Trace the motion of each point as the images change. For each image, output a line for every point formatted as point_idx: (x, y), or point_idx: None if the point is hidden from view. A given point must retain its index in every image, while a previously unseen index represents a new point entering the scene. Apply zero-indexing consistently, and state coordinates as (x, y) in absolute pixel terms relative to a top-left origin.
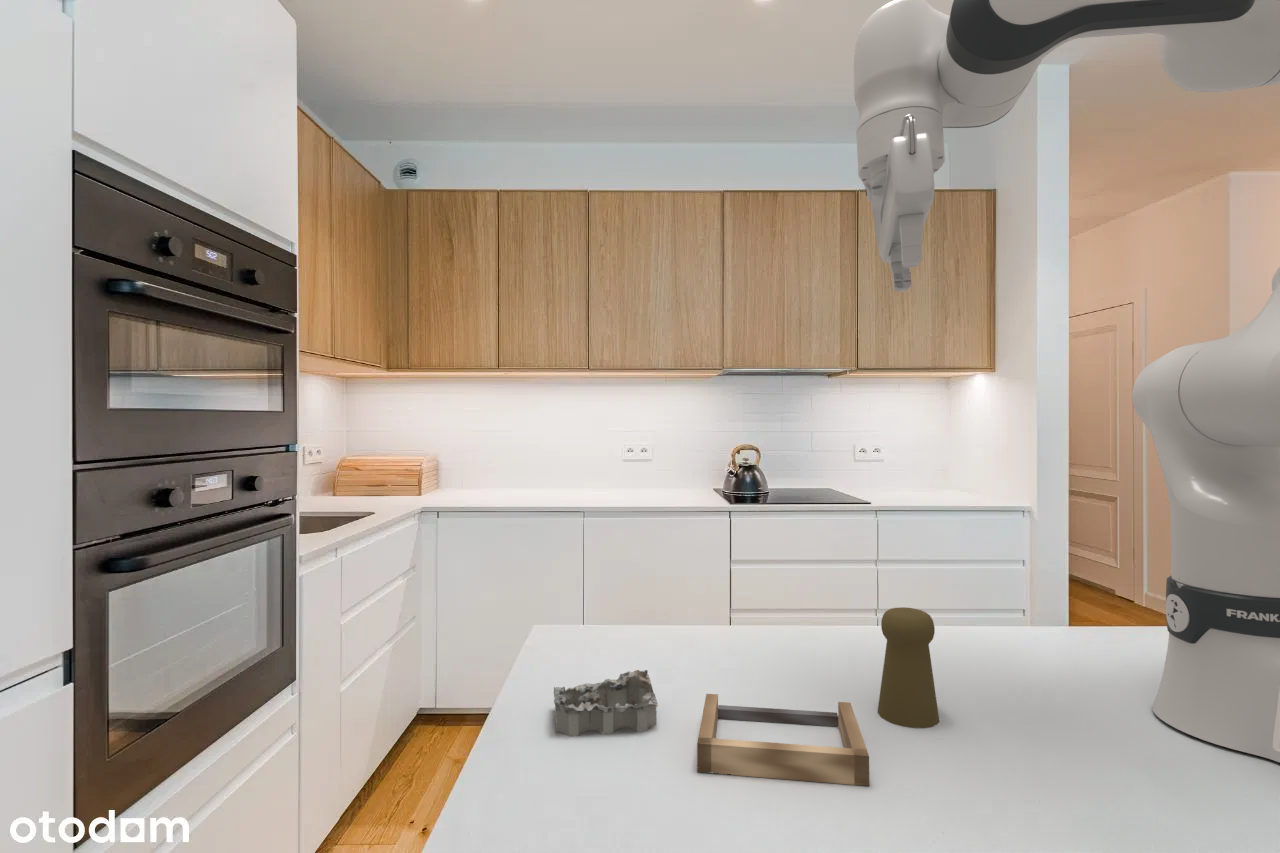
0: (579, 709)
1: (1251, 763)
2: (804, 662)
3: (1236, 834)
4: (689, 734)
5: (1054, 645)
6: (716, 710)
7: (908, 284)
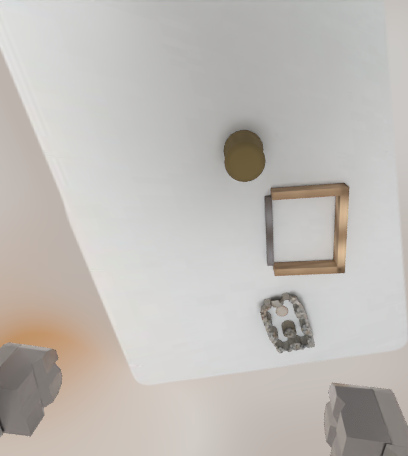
0: (311, 334)
1: None
2: (159, 214)
3: None
4: None
5: None
6: (291, 267)
7: (50, 357)
